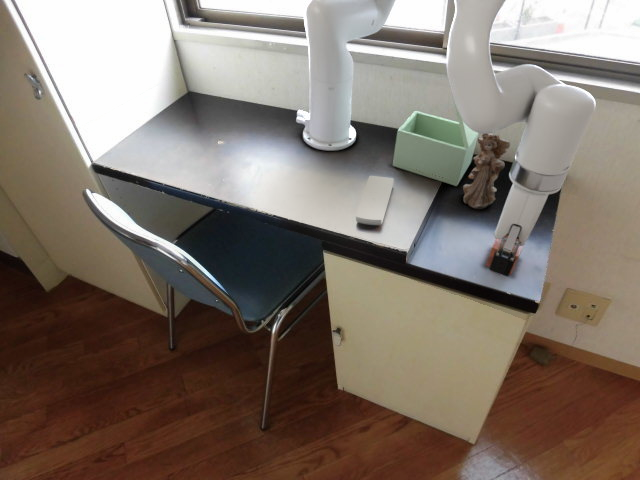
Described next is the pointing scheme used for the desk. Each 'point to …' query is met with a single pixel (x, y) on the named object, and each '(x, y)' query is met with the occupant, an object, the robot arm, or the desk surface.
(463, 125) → the lid
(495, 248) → the block
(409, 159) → the chest
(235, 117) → the desk surface
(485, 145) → the figurine
